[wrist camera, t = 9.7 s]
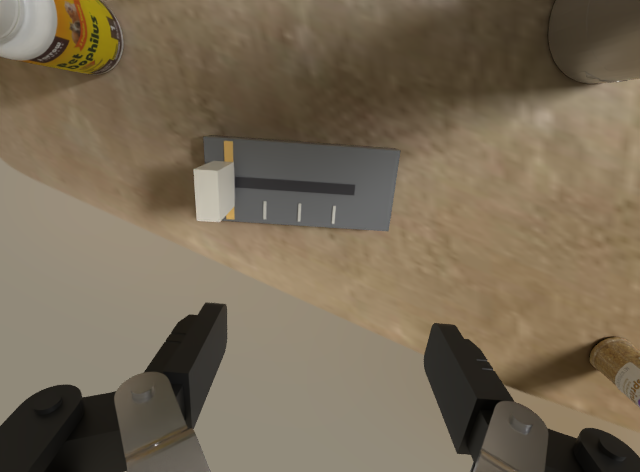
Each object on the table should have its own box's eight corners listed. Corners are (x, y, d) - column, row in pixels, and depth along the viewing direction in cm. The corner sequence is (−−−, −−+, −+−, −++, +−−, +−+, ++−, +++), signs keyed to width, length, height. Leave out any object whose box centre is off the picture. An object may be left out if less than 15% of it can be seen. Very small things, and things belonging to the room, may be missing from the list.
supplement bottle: (108, 91, 27) (-8, 76, 17) (43, 43, 26) (-121, 0, 16) (140, 29, 25) (32, -25, 16) (72, -25, 24) (-90, -117, 15)
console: (211, 135, 28) (203, 136, 26) (395, 148, 29) (400, 150, 27) (214, 213, 30) (207, 220, 29) (384, 224, 31) (388, 231, 29)
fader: (215, 159, 26) (193, 169, 22) (235, 160, 26) (217, 170, 22) (217, 202, 28) (196, 220, 23) (236, 204, 28) (219, 222, 23)
